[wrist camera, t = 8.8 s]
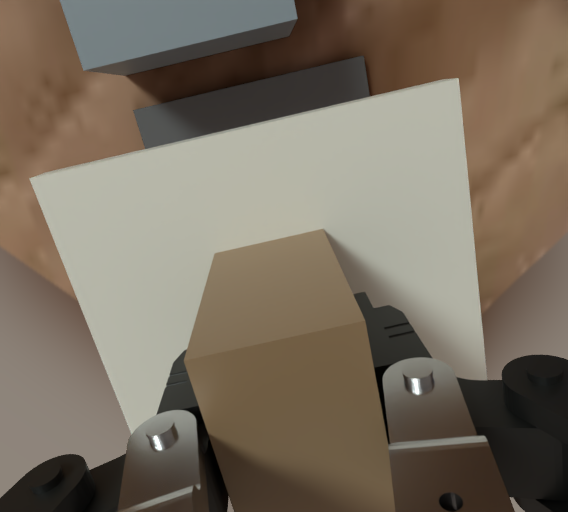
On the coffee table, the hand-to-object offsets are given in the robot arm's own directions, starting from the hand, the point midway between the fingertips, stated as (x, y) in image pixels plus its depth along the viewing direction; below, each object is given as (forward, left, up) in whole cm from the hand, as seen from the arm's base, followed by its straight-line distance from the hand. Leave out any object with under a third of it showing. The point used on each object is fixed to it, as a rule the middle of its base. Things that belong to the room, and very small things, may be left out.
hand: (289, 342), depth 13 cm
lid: (0, 0, -2) cm, 2 cm away
